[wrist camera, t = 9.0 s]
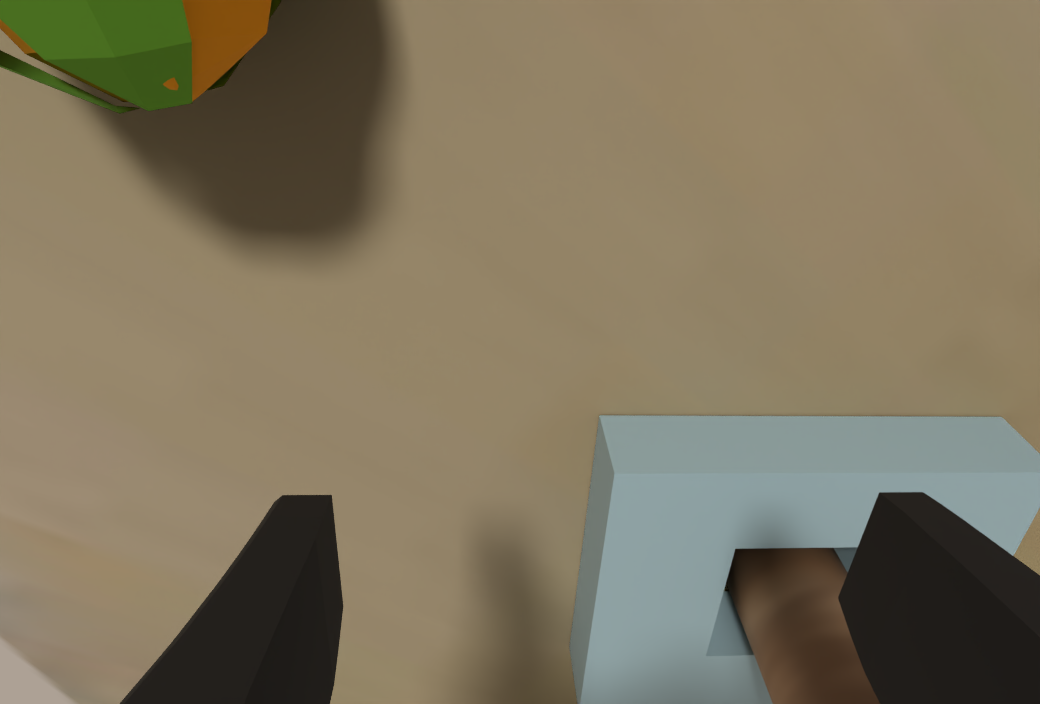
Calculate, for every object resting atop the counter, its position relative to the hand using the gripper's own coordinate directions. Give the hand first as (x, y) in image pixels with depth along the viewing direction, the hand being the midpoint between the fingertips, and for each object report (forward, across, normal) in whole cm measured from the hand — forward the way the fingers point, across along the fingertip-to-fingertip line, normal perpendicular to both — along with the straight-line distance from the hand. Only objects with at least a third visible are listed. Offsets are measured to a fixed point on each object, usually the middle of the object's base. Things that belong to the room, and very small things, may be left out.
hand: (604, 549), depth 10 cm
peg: (+10, -8, +10) cm, 16 cm away
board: (+10, -8, +10) cm, 16 cm away
